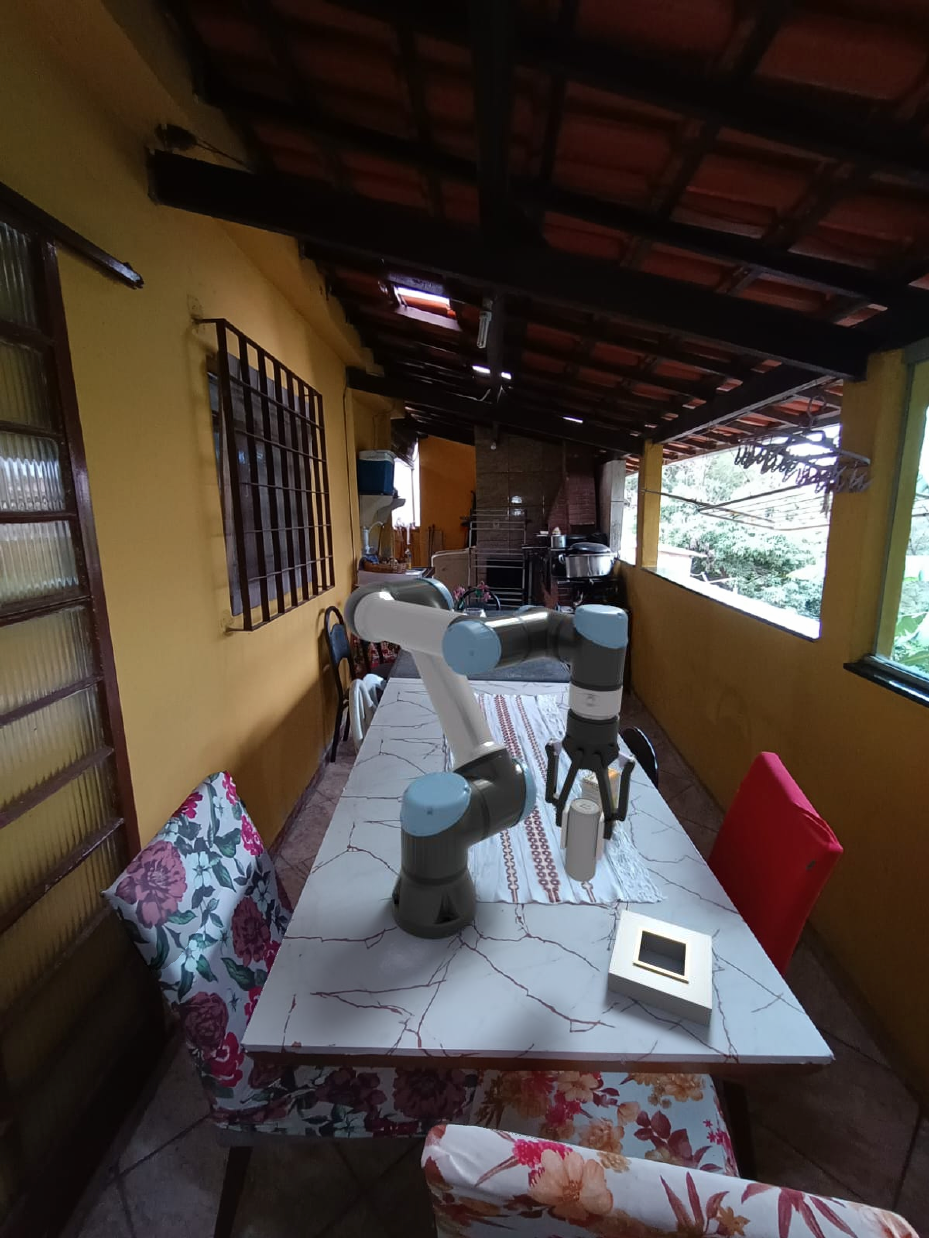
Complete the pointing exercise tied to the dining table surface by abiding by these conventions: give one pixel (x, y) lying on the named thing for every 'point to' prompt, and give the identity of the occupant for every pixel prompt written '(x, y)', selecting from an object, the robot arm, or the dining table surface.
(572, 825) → the beverage can
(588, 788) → the supplement box
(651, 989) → the socket plate
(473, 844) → the robot arm
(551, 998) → the dining table surface
